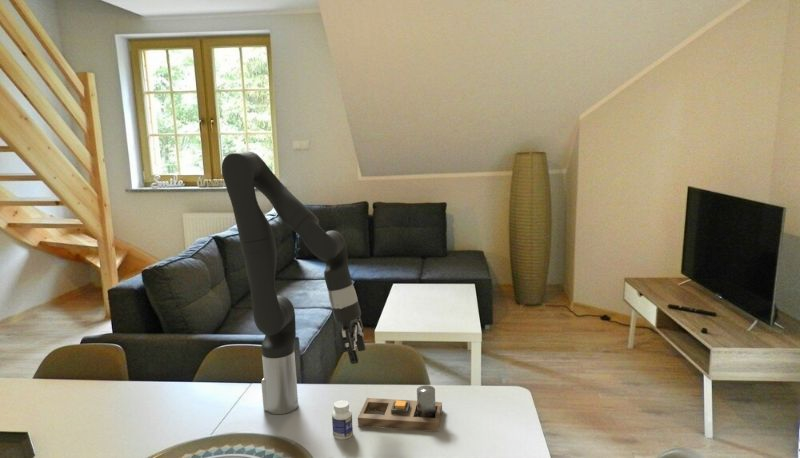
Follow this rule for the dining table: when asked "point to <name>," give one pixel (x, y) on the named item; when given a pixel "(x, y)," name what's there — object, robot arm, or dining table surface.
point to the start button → (400, 404)
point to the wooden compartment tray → (397, 415)
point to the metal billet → (426, 401)
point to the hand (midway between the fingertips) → (358, 356)
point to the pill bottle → (342, 420)
